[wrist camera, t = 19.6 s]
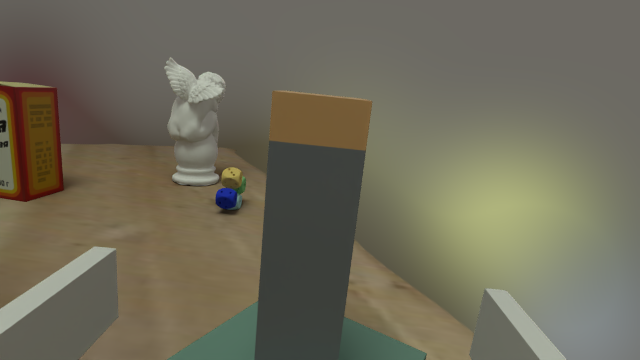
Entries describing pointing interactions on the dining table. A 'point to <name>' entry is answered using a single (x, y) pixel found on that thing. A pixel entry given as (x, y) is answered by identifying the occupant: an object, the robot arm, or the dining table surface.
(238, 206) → the dice
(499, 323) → the robot arm
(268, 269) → the plug
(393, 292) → the dining table surface
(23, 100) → the baking soda box
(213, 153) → the cherub figurine
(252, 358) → the mat
